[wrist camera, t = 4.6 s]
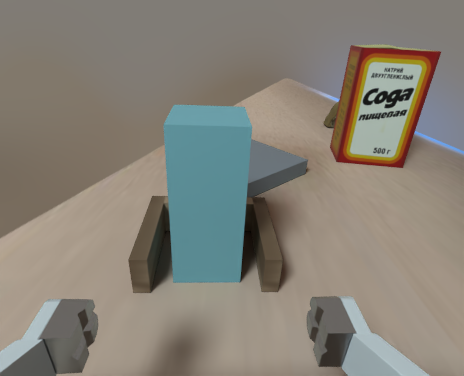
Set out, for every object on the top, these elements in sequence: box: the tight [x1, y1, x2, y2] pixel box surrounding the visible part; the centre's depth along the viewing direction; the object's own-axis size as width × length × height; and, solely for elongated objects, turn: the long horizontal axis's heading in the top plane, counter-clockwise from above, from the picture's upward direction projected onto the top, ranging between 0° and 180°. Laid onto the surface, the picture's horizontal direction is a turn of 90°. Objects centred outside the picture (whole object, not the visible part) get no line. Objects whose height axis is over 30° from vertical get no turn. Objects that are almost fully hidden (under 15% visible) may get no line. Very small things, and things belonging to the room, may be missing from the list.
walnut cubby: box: [129, 196, 283, 293], centre depth 25 cm, size 10×9×3 cm
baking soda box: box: [330, 45, 441, 168], centre depth 44 cm, size 10×6×16 cm
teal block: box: [164, 105, 252, 282], centre depth 22 cm, size 5×5×12 cm
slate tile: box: [247, 139, 308, 197], centre depth 41 cm, size 12×12×2 cm
